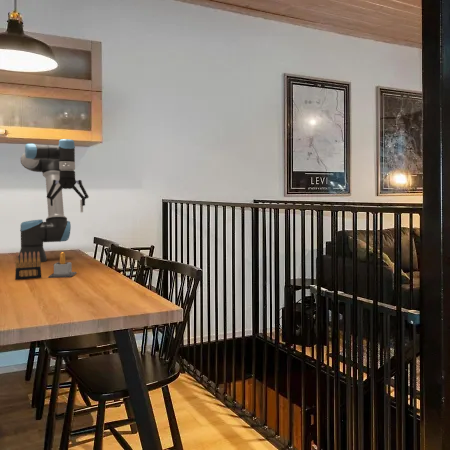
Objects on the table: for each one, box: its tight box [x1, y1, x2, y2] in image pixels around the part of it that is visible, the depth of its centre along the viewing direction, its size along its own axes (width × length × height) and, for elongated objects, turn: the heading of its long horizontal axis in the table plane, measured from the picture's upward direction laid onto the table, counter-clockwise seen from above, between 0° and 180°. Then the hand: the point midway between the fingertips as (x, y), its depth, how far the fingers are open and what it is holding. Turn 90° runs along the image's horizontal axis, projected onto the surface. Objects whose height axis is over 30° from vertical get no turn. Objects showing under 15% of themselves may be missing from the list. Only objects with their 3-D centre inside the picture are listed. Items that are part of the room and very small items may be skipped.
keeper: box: [47, 251, 78, 279], centre depth 218 cm, size 12×10×11 cm
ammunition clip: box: [14, 251, 43, 281], centre depth 210 cm, size 11×2×12 cm, turn 118°
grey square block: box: [53, 261, 73, 275], centre depth 218 cm, size 6×6×5 cm
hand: (68, 212), depth 240 cm, fingers open, 13 cm apart
